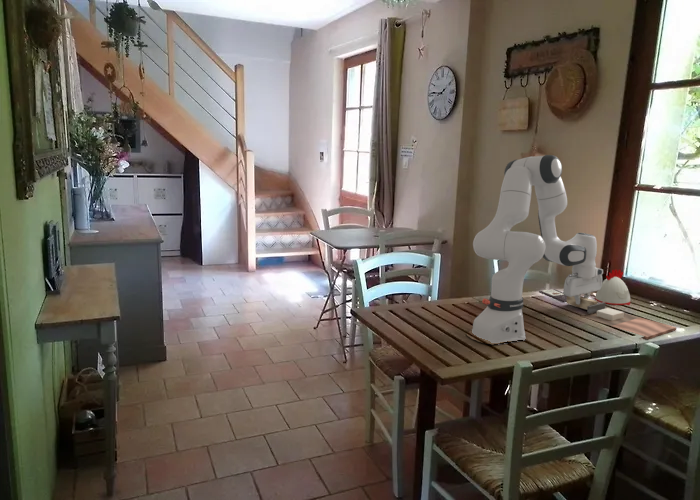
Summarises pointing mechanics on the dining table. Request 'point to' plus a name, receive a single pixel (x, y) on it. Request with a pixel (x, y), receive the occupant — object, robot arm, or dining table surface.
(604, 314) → the tile
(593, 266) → the robot arm
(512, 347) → the dining table surface
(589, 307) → the squeegee
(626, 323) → the board
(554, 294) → the chocolate bar
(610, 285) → the kitchen timer
